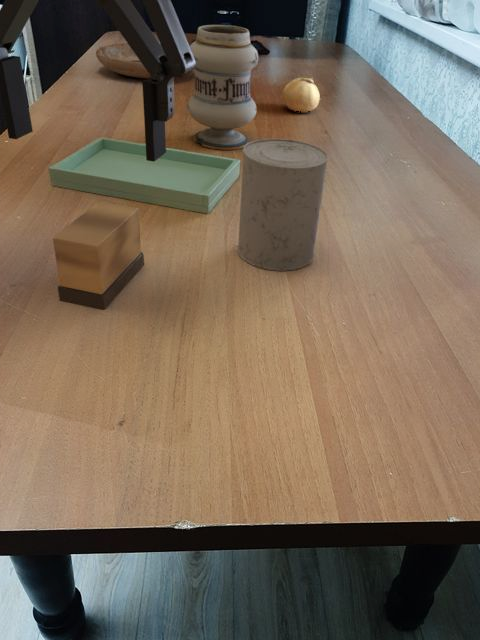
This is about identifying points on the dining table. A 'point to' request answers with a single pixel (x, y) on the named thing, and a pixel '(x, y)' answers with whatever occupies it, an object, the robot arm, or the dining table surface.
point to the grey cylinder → (280, 203)
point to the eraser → (98, 254)
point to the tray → (147, 174)
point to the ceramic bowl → (122, 60)
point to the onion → (301, 95)
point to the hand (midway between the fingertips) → (87, 145)
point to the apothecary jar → (222, 85)
